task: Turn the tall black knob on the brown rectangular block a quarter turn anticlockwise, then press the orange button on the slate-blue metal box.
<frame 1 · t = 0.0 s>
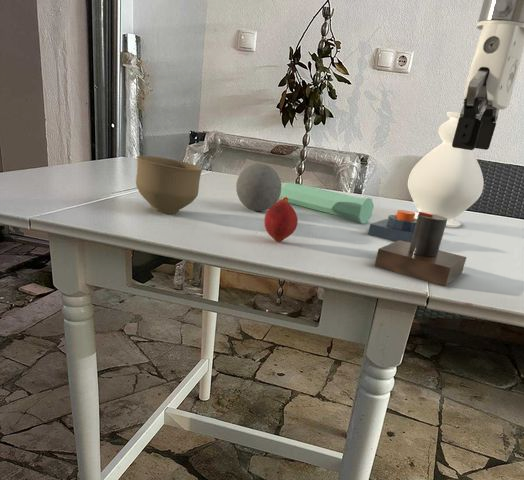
hand: (470, 148, 78), 20 cm above the table, tool pointing down, fingers open, 9 cm apart
bowl: (168, 212, 102), on the table
green hexagonal prism: (320, 211, 123), on the table
decorative ball: (256, 211, 114), on the table
start button: (405, 216, 105), point 4 cm above the table, slide at 0.1 cm
onion: (277, 243, 91), on the table
brown rectangular block: (418, 270, 86), on the table
button box: (400, 237, 107), on the table
knob: (428, 233, 83), point 6 cm above the table, hinge at 0.0°
decorative vase: (434, 221, 129), on the table
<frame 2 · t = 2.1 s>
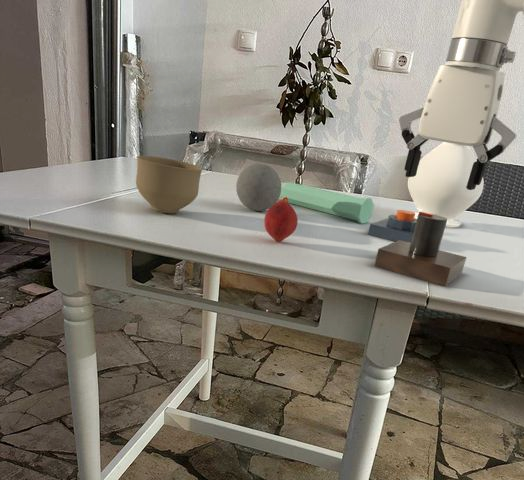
hand: (439, 182, 79), 14 cm above the table, tool pointing down, fingers open, 9 cm apart
nothing on the table moved.
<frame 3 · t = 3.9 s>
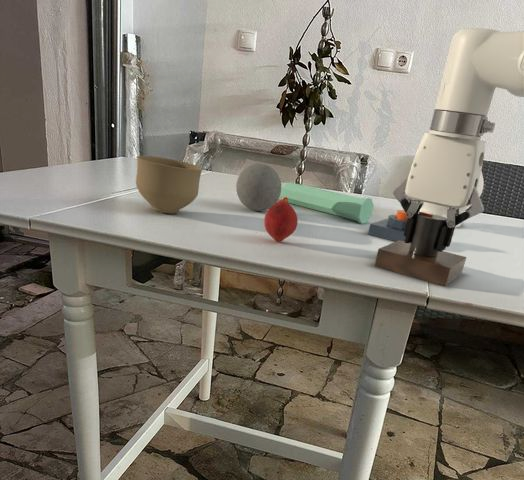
hand: (425, 244, 84), 4 cm above the table, tool pointing down, fingers closed on knob, 4 cm apart
knob: (428, 233, 83), point 6 cm above the table, hinge at -0.1°, touching gripper
everything else where it was.
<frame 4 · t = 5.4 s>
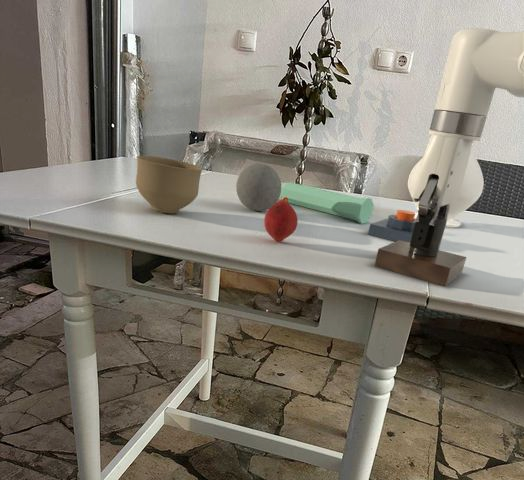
hand: (424, 245, 84), 4 cm above the table, tool pointing down, fingers closed on knob, 4 cm apart
knob: (428, 233, 83), point 6 cm above the table, hinge at 90.2°, touching gripper
everything else where it was.
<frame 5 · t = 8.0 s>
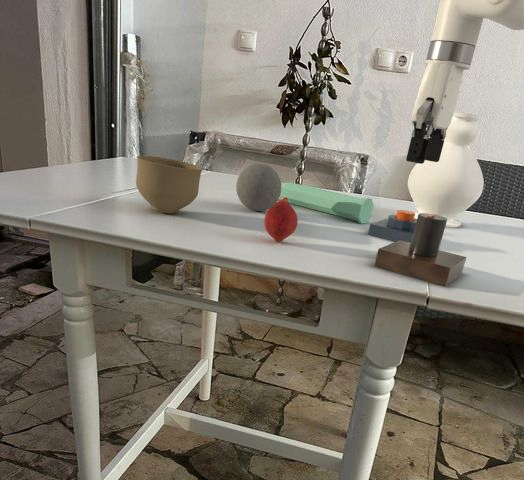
hand: (422, 161, 95), 16 cm above the table, tool pointing down, fingers open, 9 cm apart
knob: (428, 233, 83), point 6 cm above the table, hinge at 90.9°
everything else where it was.
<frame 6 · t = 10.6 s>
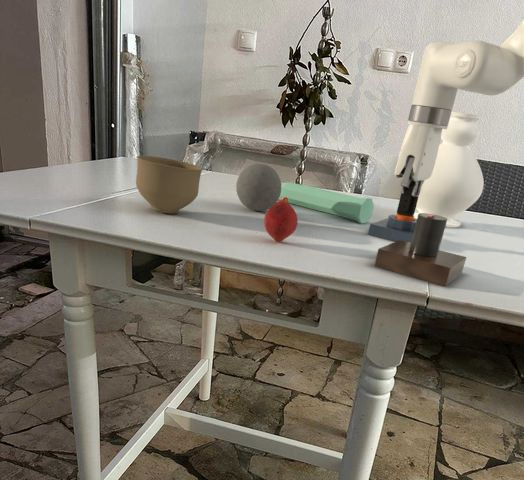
hand: (405, 214, 105), 5 cm above the table, tool pointing down, fingers closed
start button: (404, 219, 105), point 4 cm above the table, slide at -0.5 cm, touching gripper
everything else where it was.
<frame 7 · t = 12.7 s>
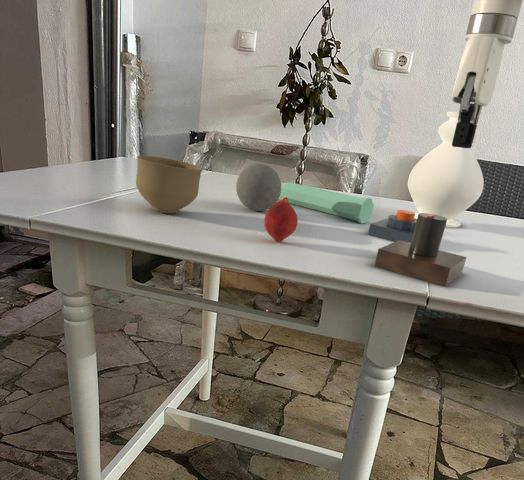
hand: (461, 147, 93), 19 cm above the table, tool pointing down, fingers closed
start button: (405, 216, 105), point 4 cm above the table, slide at 0.1 cm
everything else where it was.
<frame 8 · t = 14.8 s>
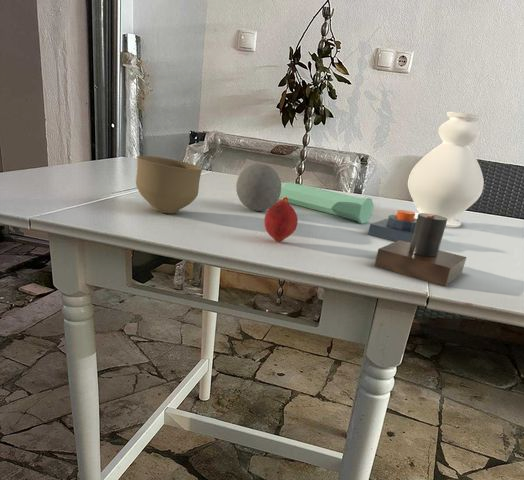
nothing on the table moved.
at the end: knob at +91° (first picture: +0°); start button pushed in 1.1 cm at the most during the clip, back to where it started at the end; start button slide at 0.1 cm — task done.
